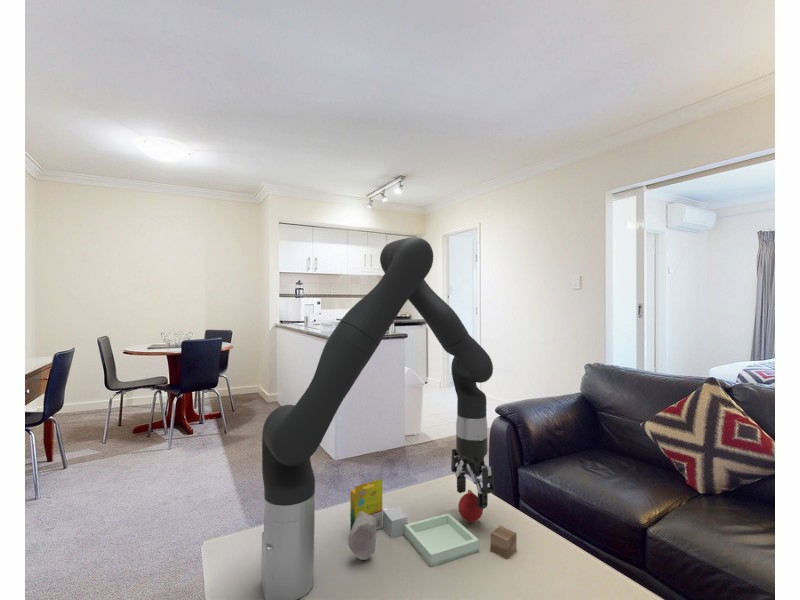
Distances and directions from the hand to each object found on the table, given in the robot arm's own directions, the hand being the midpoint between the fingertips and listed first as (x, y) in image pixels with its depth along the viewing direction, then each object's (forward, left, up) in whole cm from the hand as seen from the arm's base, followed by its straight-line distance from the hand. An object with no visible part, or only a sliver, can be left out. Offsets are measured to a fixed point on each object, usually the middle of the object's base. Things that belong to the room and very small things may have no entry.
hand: (471, 499), depth 97 cm
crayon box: (-24, +8, -6) cm, 26 cm away
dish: (-11, -4, -6) cm, 13 cm away
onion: (0, 0, -6) cm, 6 cm away
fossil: (-29, -2, -6) cm, 30 cm away
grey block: (-18, +5, -6) cm, 20 cm away
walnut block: (0, -12, -6) cm, 13 cm away
